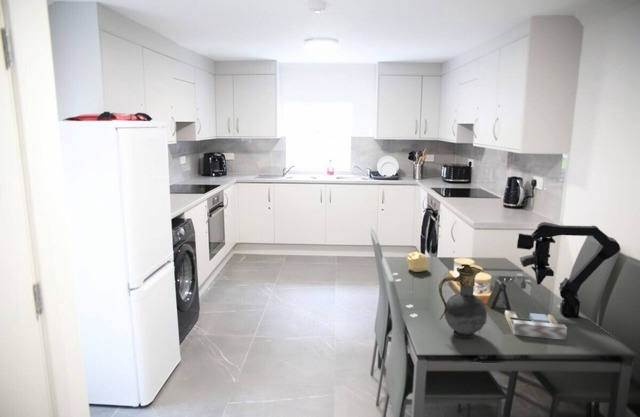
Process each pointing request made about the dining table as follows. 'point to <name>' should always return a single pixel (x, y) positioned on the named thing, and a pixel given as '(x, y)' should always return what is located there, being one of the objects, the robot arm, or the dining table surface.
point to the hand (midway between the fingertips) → (538, 284)
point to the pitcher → (464, 304)
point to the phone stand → (494, 296)
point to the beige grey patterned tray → (536, 327)
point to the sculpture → (417, 262)
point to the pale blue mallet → (534, 318)
